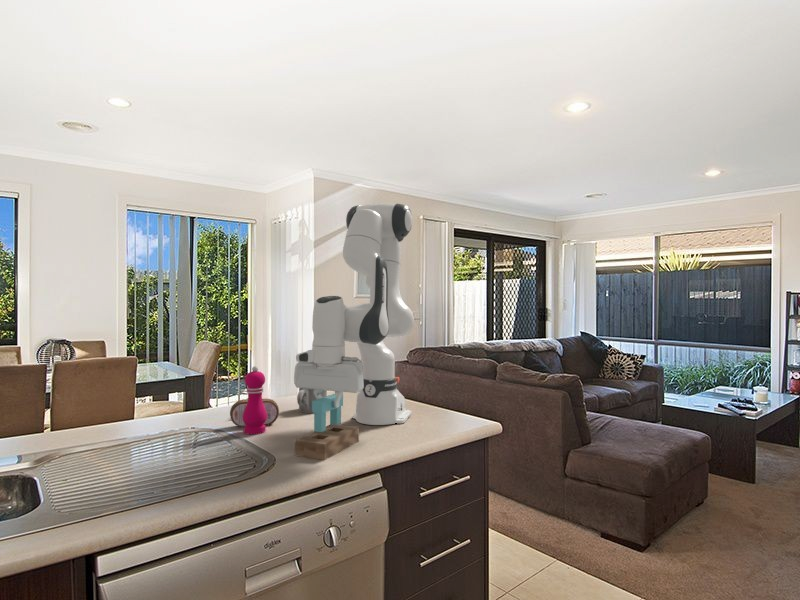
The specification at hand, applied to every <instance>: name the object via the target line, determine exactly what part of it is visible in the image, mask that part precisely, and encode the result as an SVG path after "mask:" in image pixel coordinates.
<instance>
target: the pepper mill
mask: <svg viewBox="0 0 800 600" xmlns="http://www.w3.org/2000/svg"><path fill="white" fill-rule="evenodd" d="M251 370H252V371H250V372H248V373H247V374H246V375H245V378H244V383H245V386H246V393H247V398H248V402H247V406H246V408H245V410H244V413H243V422H244V423H245V424H246V426H245V427H243V432H244V434H246V435H260V434H264V433H265V432H266V431H267V430H266V427H267V425H266V426H265V425H264V423H265V421H266V420H267V412H266V409H265V407H264V405H263V402H262V399H263V393H264V384H265V383H266V376H265V374H264V373H263V372H261V371H259V368H258V366H256V365H253V366H252V367H251Z"/></svg>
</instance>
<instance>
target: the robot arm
mask: <svg viewBox="0 0 800 600" xmlns="http://www.w3.org/2000/svg"><path fill="white" fill-rule="evenodd" d="M345 217H346V219H345V222H346V228H347V231H346V234H345V238H344V243H343V247H342V257H343V260H344V262H345V263H346V265H348V267H349V268H350V269H352V270H354V271H355V272H357V273H359V274H360V275H361V274H362V275H364V276H366V278H365V282H366V286H367V287H368V288H369V291H370V293H369V303H366V302H364V303H358V304H354V305H350V306H347V305H346V304H344V300H343V297H342V296H339V295H329V296H321V297H319V298H317V299H315V302H314V305H313V310H312V322H311V323H312V325H311V326H312V329H311V330H312V333H313V340H312V343H311V345H312V346H311V349H308V350H306V351H303V352H300V353H297V354H296V355H295V360H296V362H297V363H296V364H295V367H294V374H293V375H294V376H293V382H294V386H295V387H296V388H297V389H299V388H306V389H314V395H315V397H316V399H320V398H322V395H321V392H322V390H327V391H329V392H334V394H335V395H337V396H336V398H335V400H334V401H331V404H332V405H331V406H332V407H333V408H338V407H339V400H340V399H341V397H342V396H343V397H344V393H350V394H351V393H352V394H356V407H355V413H354V414H352V418H353V419H354V420H356V422H358V423H360V424H364V425H370V426H386V425H387V426H388V425H393V424H395V423H397V424H404V423H406V421H407V420H408V419H409V418H410V417H411V415H412V413H413V412H412V410H411V409H410V410H409V409H407V408H406V398H405V396H404V395H403V394H402V393H401V392H400V391H399V389H397V388H398V385H397V384H399V383H400V377H399V376H396V374H395V372H396V371H395V367H396V364H395V363H396V362H395V359H396V358H395V355H394V352H393V351H392V350H391V349H389V348H388V347H387V345H385V343H384V340H385V339H386V338H397V337H403V336H407V335H408V334H410V333H411V331H412V330H413V328H414V323H415V317H414V313H413V311H412V309H411V308H410V307H409V306H408V305H407V304H406V303H405V301H404V300H403V297H402V295H401V291H400V290H401V289H400V278H401V277H400V273H401V265H402V264H401V262H402V248H401V247H402V245H401V242H403V240H404V238H405V237H407V236H408V235H409V233H410V231H411V230H412V227H413V214H412V211H411V209H410V208H409V206H408V205H405V204H403V203H384V202H383V203H382V202H381V203H379V202H378V203H376V204H375V203H371V204H365V205H362V204H359V205H354V206H352V207H351V208H350V209H349V210H348V211H347V213H346V216H345ZM346 342H349V343H357V347H358V349H359V353H360V359H359V357H354V356H352V357H351V356H346ZM408 417H409V418H408ZM395 425H396V424H395Z"/></svg>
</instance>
